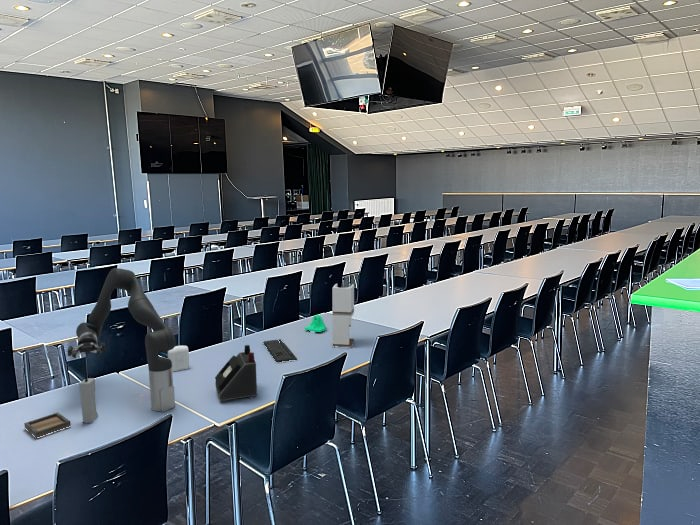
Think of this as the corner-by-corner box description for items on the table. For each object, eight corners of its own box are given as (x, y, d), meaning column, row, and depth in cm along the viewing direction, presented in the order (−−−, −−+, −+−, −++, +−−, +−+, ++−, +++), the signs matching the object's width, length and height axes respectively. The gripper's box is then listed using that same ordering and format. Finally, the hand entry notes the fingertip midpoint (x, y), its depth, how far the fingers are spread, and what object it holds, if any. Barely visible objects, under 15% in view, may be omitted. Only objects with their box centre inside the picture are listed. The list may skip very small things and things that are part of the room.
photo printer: (188, 366, 260) (186, 343, 258) (190, 368, 256) (189, 345, 254) (167, 370, 254) (166, 346, 252) (169, 373, 251) (168, 349, 249)
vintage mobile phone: (98, 417, 204) (93, 358, 200) (92, 423, 199) (87, 362, 195) (89, 417, 203) (83, 358, 199) (82, 423, 199) (77, 363, 195)
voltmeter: (215, 389, 231) (213, 347, 227) (250, 384, 236) (249, 343, 233) (219, 404, 216) (217, 359, 213) (257, 398, 222) (255, 354, 218)
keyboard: (297, 361, 268) (297, 357, 267) (276, 364, 264) (276, 360, 263) (281, 341, 300) (281, 338, 300) (262, 344, 296) (262, 340, 296)
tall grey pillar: (351, 348, 287) (350, 288, 281) (332, 347, 289) (332, 287, 283) (354, 342, 298) (353, 284, 293) (336, 341, 300) (336, 283, 294)
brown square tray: (70, 427, 195) (70, 421, 195) (36, 439, 186) (35, 433, 186) (58, 418, 203) (57, 412, 203) (24, 429, 194) (24, 423, 193)
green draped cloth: (304, 331, 320) (303, 316, 318) (311, 328, 326) (310, 313, 324) (319, 334, 313) (319, 318, 312) (326, 331, 320) (326, 315, 318)
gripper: (68, 336, 218) (66, 348, 204) (105, 332, 224) (105, 343, 210) (70, 352, 219) (67, 365, 205) (106, 348, 226) (106, 360, 211)
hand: (86, 354), depth 207 cm, fingers open, 8 cm apart
